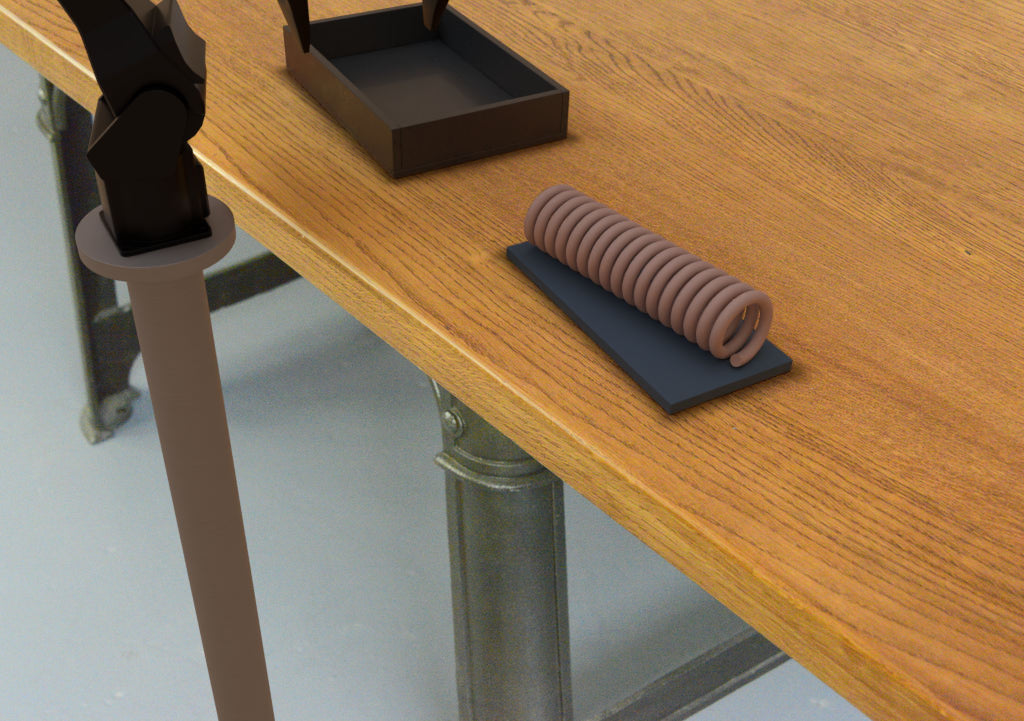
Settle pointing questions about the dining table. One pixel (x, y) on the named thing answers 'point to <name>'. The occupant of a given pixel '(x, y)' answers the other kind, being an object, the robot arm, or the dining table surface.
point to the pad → (645, 338)
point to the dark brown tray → (426, 88)
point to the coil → (650, 273)
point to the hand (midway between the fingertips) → (368, 39)
